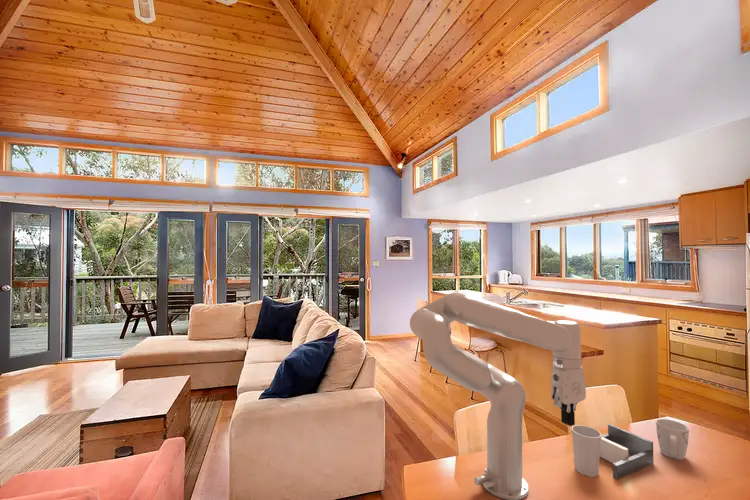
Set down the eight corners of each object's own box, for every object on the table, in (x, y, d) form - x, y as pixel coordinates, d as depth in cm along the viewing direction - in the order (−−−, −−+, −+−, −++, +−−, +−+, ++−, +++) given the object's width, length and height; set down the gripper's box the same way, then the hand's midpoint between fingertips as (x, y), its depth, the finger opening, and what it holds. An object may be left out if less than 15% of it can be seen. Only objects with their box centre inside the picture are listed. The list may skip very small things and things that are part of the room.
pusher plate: (625, 469, 108) (625, 450, 108) (593, 453, 117) (593, 435, 117) (628, 468, 109) (628, 448, 109) (596, 452, 118) (596, 434, 118)
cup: (593, 463, 111) (593, 425, 112) (607, 479, 104) (607, 438, 104) (567, 462, 112) (566, 424, 113) (579, 477, 104) (578, 436, 105)
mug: (691, 469, 109) (691, 437, 109) (657, 459, 114) (656, 429, 114) (687, 453, 118) (687, 423, 118) (655, 445, 123) (655, 416, 123)
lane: (617, 479, 104) (616, 455, 104) (574, 456, 116) (574, 434, 116) (653, 463, 112) (653, 441, 112) (610, 443, 124) (610, 423, 124)
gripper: (561, 369, 98) (562, 434, 98) (594, 362, 105) (596, 423, 104) (538, 362, 105) (539, 423, 105) (571, 356, 112) (572, 413, 111)
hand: (568, 423), depth 105 cm, fingers closed
